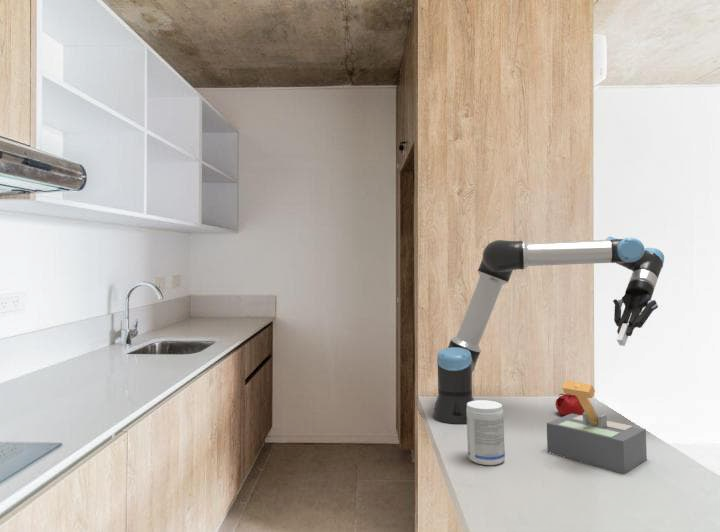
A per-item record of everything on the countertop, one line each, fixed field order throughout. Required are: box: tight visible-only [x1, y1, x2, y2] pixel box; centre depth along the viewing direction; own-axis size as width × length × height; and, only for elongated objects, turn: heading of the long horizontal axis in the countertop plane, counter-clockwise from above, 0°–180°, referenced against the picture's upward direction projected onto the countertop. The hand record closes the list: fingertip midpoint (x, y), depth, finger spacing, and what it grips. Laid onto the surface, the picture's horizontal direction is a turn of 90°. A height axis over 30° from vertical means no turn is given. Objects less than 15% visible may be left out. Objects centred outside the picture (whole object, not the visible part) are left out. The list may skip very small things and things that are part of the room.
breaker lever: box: [561, 380, 599, 425], centre depth 126 cm, size 7×2×16 cm
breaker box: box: [546, 413, 648, 475], centre depth 129 cm, size 20×14×11 cm
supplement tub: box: [466, 399, 506, 466], centre depth 127 cm, size 10×10×15 cm
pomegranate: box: [555, 391, 585, 417], centre depth 167 cm, size 10×10×9 cm
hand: (620, 342), depth 145 cm, fingers closed
